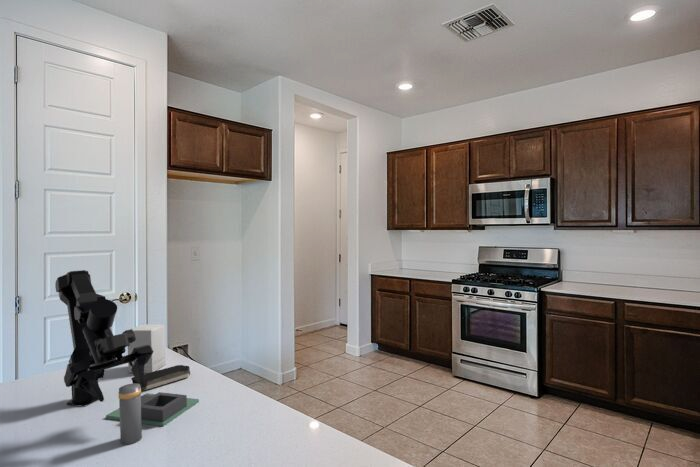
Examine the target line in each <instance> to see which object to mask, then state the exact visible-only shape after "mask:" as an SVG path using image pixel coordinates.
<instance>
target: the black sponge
mask: <svg viewBox="0 0 700 467" xmlns="http://www.w3.org/2000/svg"><path fill="white" fill-rule="evenodd" d="M190 375H191V370H190V366H189V365H183V364H178V365H173V366H170V367H166V368H162V369H158V370H156V371H154V372H150V373H144V387H143V388H141V390H147V391H148V390H150V389H153V388H157V387H159V386H163V385H166V384H169V383H172V382H173V383H174V382H175V381H180V380H183V379H187V378H188V377H189V376H190ZM130 379H131V382H132V384H133V383H137V384H138V382H137V380H136V378H135V376H133V377H130Z"/></svg>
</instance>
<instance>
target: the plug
mask: <svg viewBox="0 0 700 467" xmlns="http://www.w3.org/2000/svg"><path fill="white" fill-rule="evenodd" d="M141 394H142V389H141V387H140V384H137V383H133V382H132V383H129V384H125V385H121V386H120V387H119V388H118V400H119V405H118V406H119V407H118V408H120V420H119V430H120V433H119V435H120V436H119V437H120V444H121V445H123V446H128V445H129V446H130V445H133V444H134V445H135V444H136V443H138V442H140V441H141V440H142V438H143V428H142V426H143V423H142V422H141V396H142V395H141Z"/></svg>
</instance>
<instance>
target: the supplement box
mask: <svg viewBox="0 0 700 467" xmlns="http://www.w3.org/2000/svg"><path fill="white" fill-rule="evenodd" d="M165 328H166V327H165V323H164V324H163V323H161V324H158V323H157V324H156V323H154V324H153V323H151V324H149V323H148V324H147V323H146V324H144V323H143V324H142V323H141V324H139V325H137V326H134V327H131V328H129V329H128V330H130V329H132V330H133V332H134V334H135V337H136V340H135V341H134V342H132V343H129V344H130V346H127V355H130V354H131V353H132V351H133V349H134V348H136V347H140V346H144V345H150V346H151V347H152V349H153V351H154V352H153V354H152V355H151V357H150V359H149V360H148V362H147V363H146V364H145V365H144V374H147V373H150V372H154V371H158V370H160V369H161V368H163V367H164V366H165V365H167V359H166V358H167V357H166V331H165V330H166V329H165ZM127 364H128V365H127V366H128V374H133V373H132V371H131V369H132V366H130V364H129V363H127Z"/></svg>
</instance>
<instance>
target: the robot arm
mask: <svg viewBox="0 0 700 467" xmlns="http://www.w3.org/2000/svg"><path fill="white" fill-rule="evenodd" d="M55 292H56V293H58V298H59V300H60V301H61V302H62V303H64V304H65V306H67V314H68V320H69V326H70V333H71V341H72V346H73V352H72V353H71V355H70V357H69V360H68V363H67V366H66V370H65V373H64V376H63V381H64V384H65V386H66V387H67V388H70V387H71V400H69V401H66V405H70V406H77V407H86V406H88V405H90V404H92V403H94V402H96V401H99V402H100V403H102V402H104V401H105V398H104V394H103V392H102V389H101V387H100V384H99V379H103V378H104V376H105V371H106V370H107V369H111V368H114V367H119V366H122V365H126V364H128V363H129V364H130V366H132V369H131V371H132V373H131V374H132V375H133V377H135V378H136V380H137V382H138V384H140V387H141V388H143V387H144V374H145V373H144V365H145V364H146V363H147V362H148V360H149V359H150V357H151V355H152V354H153V352H154V351H153V349H152V347H151V346H150V345H144V346H140V347H136V348H134V349H133V351H132V353H131V354H130V355H128V354H126V355H123V354H125V352H126V348H128V346H130V344H129V343H132V342H134V341H135V340H136V337H135V334H134V332H133V330H132V328H129V329H130V330H129V329H125V330H124V331H123V332H122V333H119V334H115V335H114V333H113V331H112V329H111V327H113V324H114V321H115V317H116V314H117V311H118V305H117V304H116V303H115V302H114V301H113V300H110V299H108V298H107V299H106V296H105V295H102V294H100V293H99V294H98V293H97V292H96V290H95V288H94V286H93V284H92V279H91V274H89V271H88V270H86V269H83V270H71V271H68V272H67V273H66V274H64V275H60V276H59V277H57V279H56V280H55Z"/></svg>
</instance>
